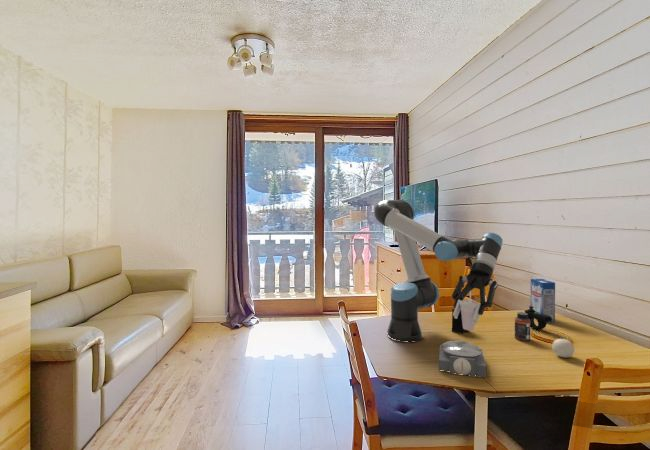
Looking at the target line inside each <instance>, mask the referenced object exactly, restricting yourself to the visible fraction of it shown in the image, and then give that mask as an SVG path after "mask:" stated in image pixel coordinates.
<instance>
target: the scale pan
mask: <svg viewBox="0 0 650 450" xmlns="http://www.w3.org/2000/svg"><path fill="white" fill-rule="evenodd" d="M442 344H443V345H442V349H443V351H445V352H446V353H448V354H450V355H453V356H456V357H463V358H474V357H478V356H480V354H481V349H482V348H481V347H479V346H478V345H476V344H475V343H471V342H468V341H464V340H448V341H445V342H444V343H442Z"/></svg>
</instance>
